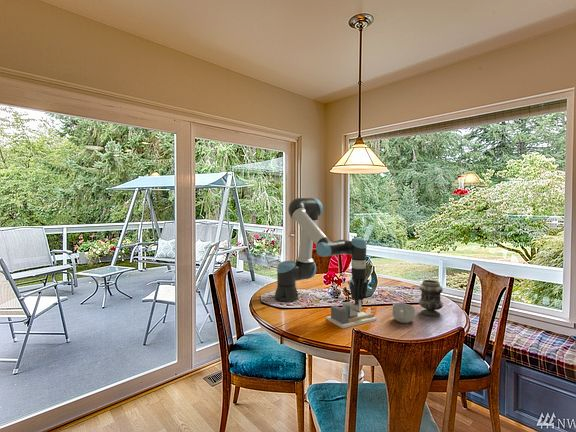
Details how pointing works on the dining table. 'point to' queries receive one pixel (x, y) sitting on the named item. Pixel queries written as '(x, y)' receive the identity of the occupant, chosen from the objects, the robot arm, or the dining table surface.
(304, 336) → the dining table surface
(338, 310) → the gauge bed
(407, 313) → the teacup
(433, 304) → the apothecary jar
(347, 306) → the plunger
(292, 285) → the robot arm
